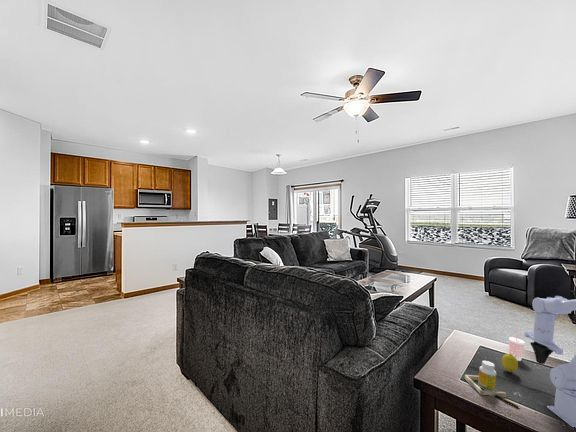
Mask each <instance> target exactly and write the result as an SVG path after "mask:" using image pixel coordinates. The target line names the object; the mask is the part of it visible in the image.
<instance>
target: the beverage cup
mask: <svg viewBox="0 0 576 432" xmlns="http://www.w3.org/2000/svg"><path fill="white" fill-rule="evenodd" d="M518 335H519V329H516V337H515V336H514V337H513V336H509V337H508V341H509V343H508V348H509V349H508V354H512V355H513V356H514V357H515V358H516V359H517V361H518V362H521V361H522V357H523V353H524V348H525V344H526V341H524V340H522V339H520V338H518V337H519V336H518Z"/></svg>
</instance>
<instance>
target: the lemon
mask: <svg viewBox="0 0 576 432" xmlns="http://www.w3.org/2000/svg"><path fill="white" fill-rule="evenodd" d="M518 362H519V361H517V359H516V358H515V357H514V356H513V355H512V354H509V353H505V354H504V355H503V356H502V358H501V366H502V367H503V369H505V370H506V371H507V372H508V373H511V372H512V373H513V372H515V371H517V370H518V367H519V363H518Z"/></svg>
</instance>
